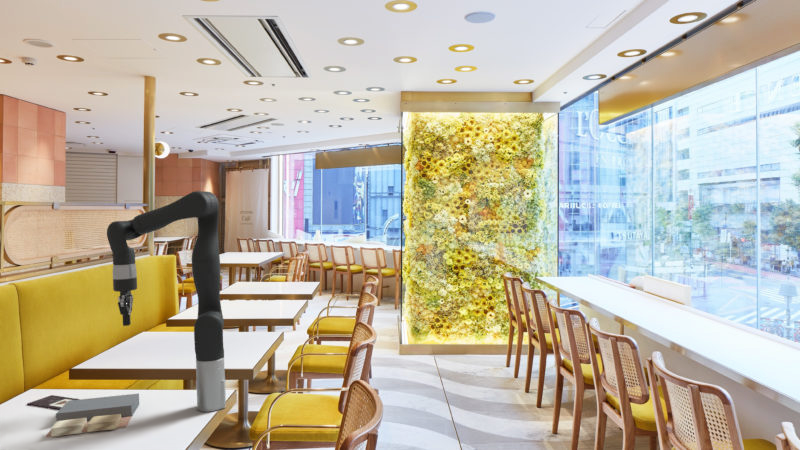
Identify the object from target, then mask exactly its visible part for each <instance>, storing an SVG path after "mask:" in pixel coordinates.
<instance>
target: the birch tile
mask: <svg viewBox="0 0 800 450" xmlns="http://www.w3.org/2000/svg"><path fill="white" fill-rule="evenodd" d="M86 426H87V418H79V419H70V420H62V421H57V422H56V421H55V423H54V424H53V426H52V427H51V428H50V430H51V436H50V437H52V438H53V437H60V436H67V435H75V434H81V433H83V432H82V431H83V430H84V428H85V427H86Z"/></svg>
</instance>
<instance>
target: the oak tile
mask: <svg viewBox="0 0 800 450" xmlns="http://www.w3.org/2000/svg"><path fill="white" fill-rule="evenodd" d="M120 422H121V414H114V415H104V416H95V417H93V418H92V419H91V420H90V421H89V422H88V424H87V432H86V433H92V432H99V431H108V430H115V429H118V428H117V427H118V425H119V424H120Z"/></svg>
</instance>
